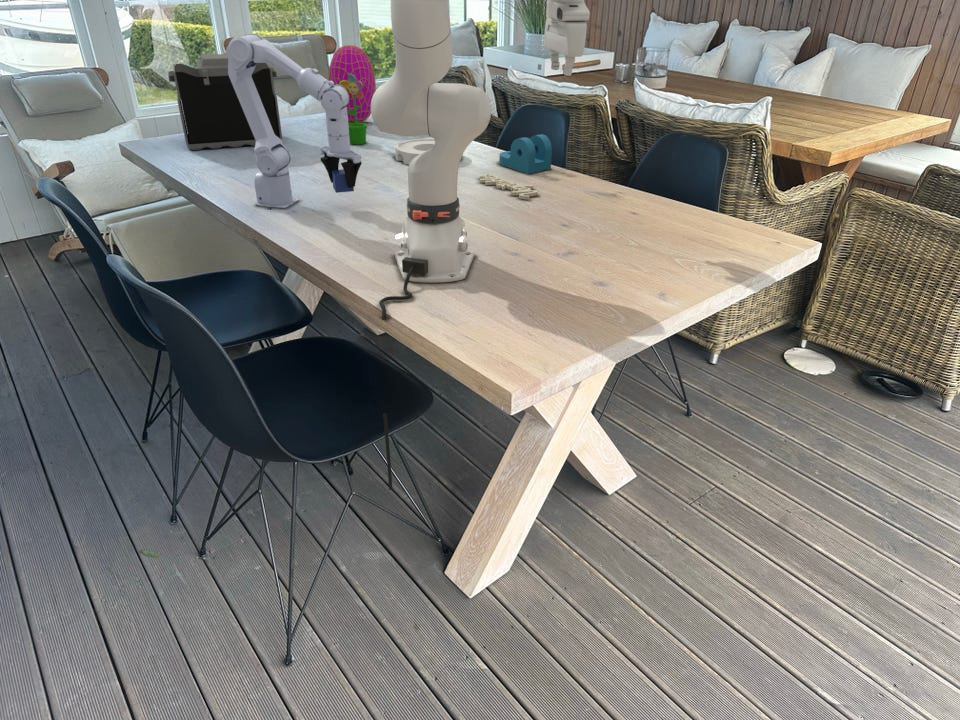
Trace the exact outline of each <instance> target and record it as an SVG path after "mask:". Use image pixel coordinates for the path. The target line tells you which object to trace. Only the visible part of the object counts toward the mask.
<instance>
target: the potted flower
mask: <svg viewBox="0 0 960 720" xmlns="http://www.w3.org/2000/svg"><path fill="white" fill-rule="evenodd" d="M348 78H349V81H346V80H342V81H341V82H340V83H339V84H340V85H342V86H343V87H344V88H346V89H347V92H348V94H349V98H350V97H351V96H352V95H353V100H354V110H349V111H348V112H349V114H351V115H355V123H349V122H348V126H349V138H350V145H351V144H352V145H363V144H366V143H367V129H368V124H367V123H366V122H365V123H364V122H361V123H357V116H356V110H358V109H359V106H356V103H355V95H356V97H357V98H358V99H359V100H362V98H363V93H362V92H361V91H360V90H361V89H363V84H362V82H361V81H358V82H357V83H356V78H355V76H354V75H352V74H350V73H348Z"/></svg>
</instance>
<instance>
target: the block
mask: <svg viewBox="0 0 960 720" xmlns="http://www.w3.org/2000/svg"><path fill="white" fill-rule="evenodd" d="M332 181H333V183H332V188H333V191H334V193H336V194H338V193H349V192H355V187H351V188H348V186H347V182H346V175H345V172H344V169H343V168H341V169H338V170H332Z"/></svg>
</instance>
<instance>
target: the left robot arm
mask: <svg viewBox="0 0 960 720" xmlns="http://www.w3.org/2000/svg"><path fill="white" fill-rule="evenodd" d="M225 53H227V55H228V75H229V78H230V80H231V82H232V85H233V87H234V90H235V92H236V94H237V97H238V99H239V102H240V104H241V106H242V109H243V111H244V114H245V116H246V118H247V121H248V123H249V126H250V128H251V130H252V133H253V135H254V138H255V140H256V144H255V146H254V150H253V151H254V154H255V157H256V160H255V161H256V162H255V163H256V166H257V169H258V170H259V171H258V172H257V173H256V174H255V176H254V180H253V181H254V182H253V183H254V189H255V196H256V203H255V205H256V206H259V207H269V208H275V209H287V208H289V207H291V206H293V205H294V204H295V203H297V202H299V201H300V200H299V198H293V193H292V186H291V185H292V184H291V177H290V169H289V165H290V163H291V161H292V156H291V155H292V154H291V152H290V151H289V149H288V148H287V147H286V146H285V145H284V143H283V139H282V140H281V139H280V138H278V137H277V136H276V135H275V134H274V131H273V129H272V126H271V124H270V121H269V119H268V117H267V114H266V112H265V109H264V107H263V104H262V102H261V99H260V97H259V94H258V92H257V89H256V87H255V84H254V82H253V79H252V73H253V71H254V69H255V67H256V65H257V64H258V63H267V64H270V65H272V66H273V67H275V68H276V69H278V70H279V71H281V72H283V73H284V74H286V75H287V76H289V77H291V78H293V79H294V80H296V84H297V87H298V88H299V89H301V90H302V91H304V92H305V93H307V94H308V95H310V96H311V97H313V98H314V99H315V100H317V101H319V102H320V104H321V106H322V108H323V110H324V111H325V121H326V132H327V141H328V145H327V146H326V145H324V146H320V147H319V150H320V151H319V152H320V155H322V157H320V161H321V163H322V164H323V166H324V168H325V171H326V173H327V175H328V178H329V181H330V183H331V184H333V181H332V170H339V167H340V165H341V166H342V169H344V172H345V175H346V182H347V186H348V188H351V187H354V188H355V187H356V183H357V177H358V174H359V170H360V168H361V166H362V163H363V162H362V158H361V157H362V156H361V154H359V153H357V152H355V151H353V150H352V149H351V143H350V138H349V126H348V124H349V122H348V116H347V107H345V106H346V105H347V104H348V102H349V94H348V92H347V90H346V89H345V88H344V87H343V86H342V85H334V82H333V81H329V79H327V78H325V77H324V76H323V75H322V74H320V73H319V70H318V69H316V68H311V67H306V68H303V67H302V66H300V65H299V64H298V63H297V62H296V61H293V60H292V59H291V58H290V57H289V56H288V55H286V54H285V53H284V52H283V51H280V50H279V49H278V48H277V47H275V46H274V45H273V44H272V43H271V42H270V41H269V40H267V39H265V38H263V37H262V36H261V35H259V34H257V33H249V34H248V35H243V36H234V37H233V38H231V40H230V41H229V43H228V45H227V47H226V49H225ZM342 108H343V109H342ZM340 159H341V160H344V162H341V163H340Z"/></svg>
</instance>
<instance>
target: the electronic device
mask: <svg viewBox="0 0 960 720" xmlns="http://www.w3.org/2000/svg"><path fill="white" fill-rule="evenodd" d="M195 64H196V68H195V67H192V66H190V65H187V64H185V63H174V64H173V65H172V68H173V69H172V70H170V71H168V75H167V78H168V81H169V82H170V83H172V82H173V83H174V84H175V89H176V97H177V101H176V102H177V107H178V110H179V115H180V121H181V126H182V130H183V136H184V141H185V144H186V147H187V149H188V150H191V151H200V150H203V149H204V148H210V149H212V150H217V149H221V148H223V147H229V148H240V147H243V146H245V145H246V146H247V145H250V146H251V147H255V144H256V140H255V138H254V135H253V133H252V130H251V128H250V126H249V123H248V121H247V118H246V116H245V114H244V111H243V109H242V106H241V104H240V102H239V99H238V97H237V94H236V92H235V90H234V87H233V85H232V82H231V80H230V78H229V75H228V55H227V53H226V52H225V53H220V54H219V53H217V54H214V53H212V52H211V53H201V54H200V58H199V59H198V60H196V61H195ZM277 77H278V75H277V70H275V68H274V66H273V67H272V66H269V64H268V63H258V64H257V65H256V67H255V69H254V71H253V73H252V79H253V82H254V84H255V87H256V89H257V92H258V94H259V97H260V99H261V102H262V104H263V107H264V109H265V112H266V114H267V117H268V119H269V121H270V124H271V126H272V129H273V131H274V134H275V135H276V136H277V137H278V138H280V139H281V140H282V141H283V133H282V126H281V118H280V110H279V103H278V96H277V94H276V90H275V83H274V78H277Z"/></svg>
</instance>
